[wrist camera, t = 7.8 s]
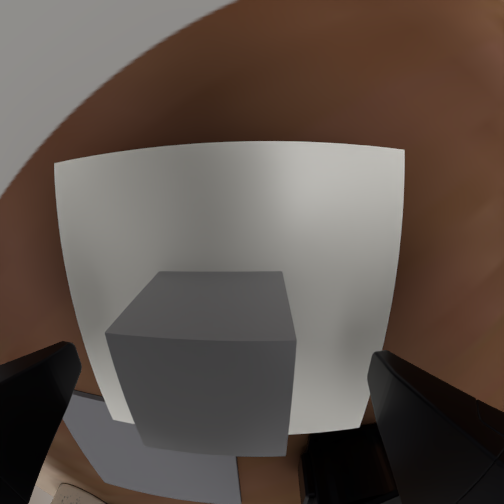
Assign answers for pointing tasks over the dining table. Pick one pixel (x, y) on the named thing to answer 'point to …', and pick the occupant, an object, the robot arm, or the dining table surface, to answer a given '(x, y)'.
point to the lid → (232, 285)
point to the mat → (147, 458)
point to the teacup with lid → (74, 496)
